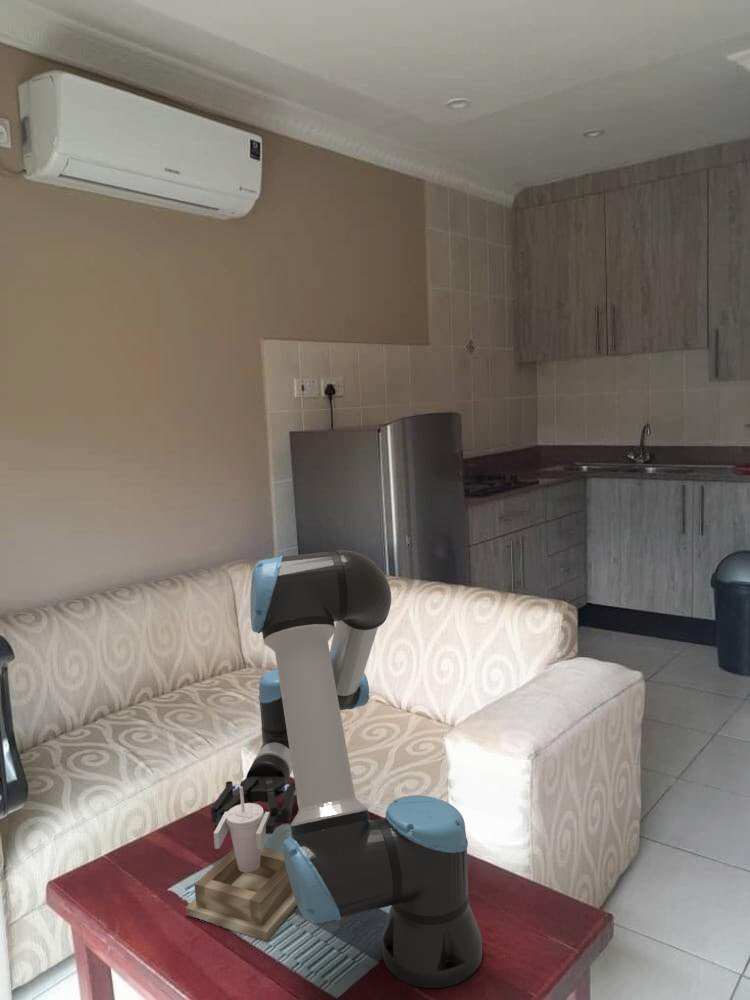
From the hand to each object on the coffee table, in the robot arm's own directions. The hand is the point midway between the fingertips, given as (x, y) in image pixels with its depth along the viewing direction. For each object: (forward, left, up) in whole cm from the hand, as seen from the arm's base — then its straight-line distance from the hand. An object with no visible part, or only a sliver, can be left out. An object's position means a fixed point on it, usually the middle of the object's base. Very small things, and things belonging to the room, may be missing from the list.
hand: (237, 841), depth 126 cm
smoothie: (+2, -5, -8) cm, 9 cm away
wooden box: (+2, -5, -14) cm, 15 cm away
